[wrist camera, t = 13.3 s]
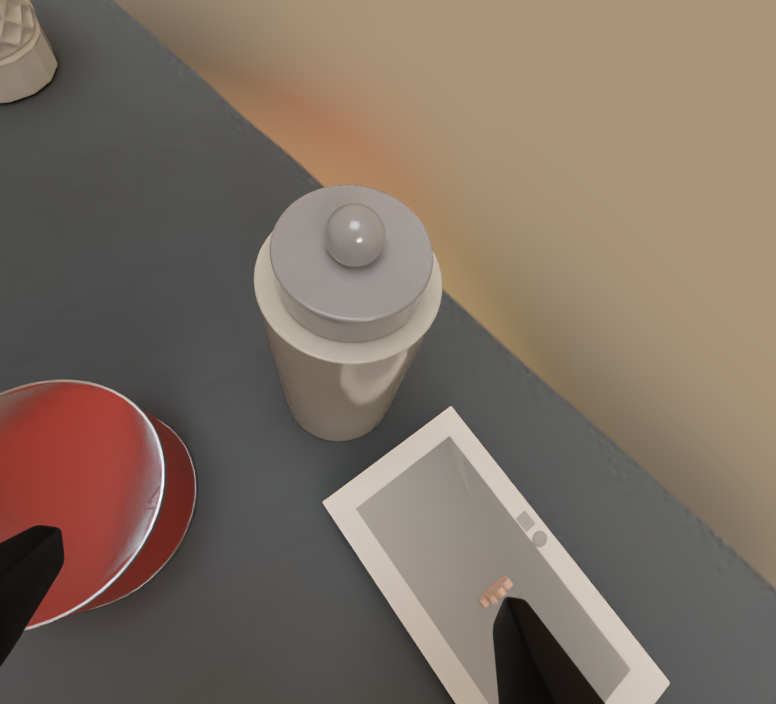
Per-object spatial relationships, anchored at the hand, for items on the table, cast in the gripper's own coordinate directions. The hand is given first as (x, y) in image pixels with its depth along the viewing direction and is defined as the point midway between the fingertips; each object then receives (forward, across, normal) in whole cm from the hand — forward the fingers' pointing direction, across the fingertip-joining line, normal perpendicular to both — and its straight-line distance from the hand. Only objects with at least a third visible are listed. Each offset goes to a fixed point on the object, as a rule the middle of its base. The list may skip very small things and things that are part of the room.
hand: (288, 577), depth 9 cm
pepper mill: (+14, 0, +3) cm, 15 cm away
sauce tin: (+9, +10, +8) cm, 15 cm away
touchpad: (+8, -8, +9) cm, 15 cm away
